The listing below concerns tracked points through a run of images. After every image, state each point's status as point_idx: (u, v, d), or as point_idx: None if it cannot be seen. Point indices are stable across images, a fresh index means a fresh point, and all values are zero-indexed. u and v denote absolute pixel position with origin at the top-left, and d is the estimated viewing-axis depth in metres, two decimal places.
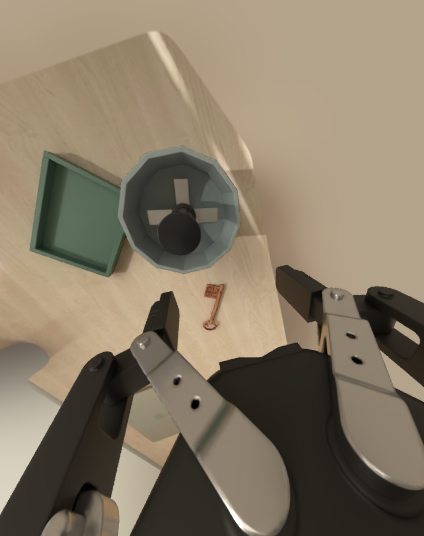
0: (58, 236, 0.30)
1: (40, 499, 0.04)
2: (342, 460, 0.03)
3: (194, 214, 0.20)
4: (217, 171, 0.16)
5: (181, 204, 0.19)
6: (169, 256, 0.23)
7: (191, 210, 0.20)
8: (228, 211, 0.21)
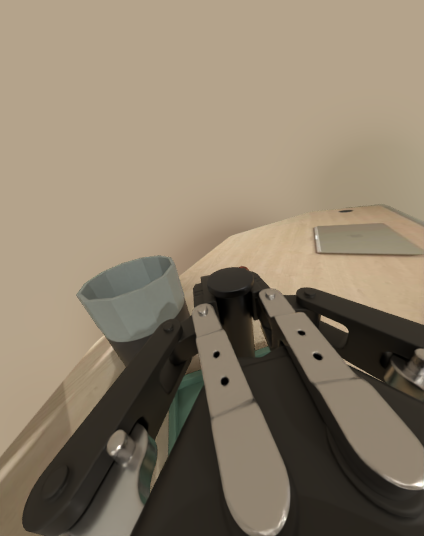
0: None
1: (115, 411, 0.05)
2: (342, 460, 0.03)
3: None
4: (92, 282, 0.24)
5: None
6: None
7: None
8: (126, 283, 0.29)
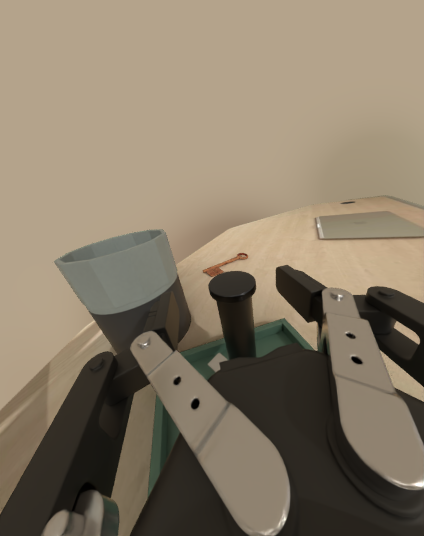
0: None
1: (40, 499, 0.04)
2: (342, 460, 0.03)
3: None
4: (75, 253, 0.22)
5: None
6: None
7: None
8: None
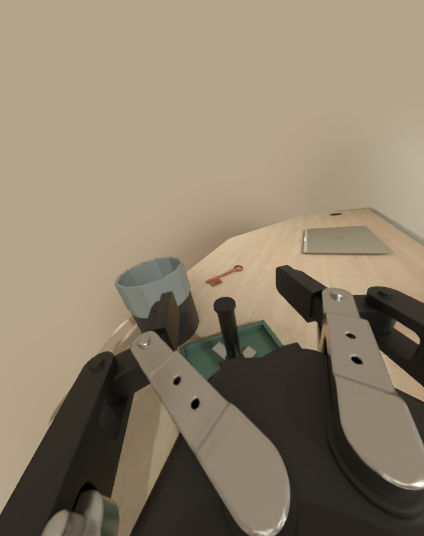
0: None
1: (40, 499, 0.04)
2: (342, 460, 0.03)
3: (227, 354, 0.25)
4: (122, 276, 0.32)
5: None
6: None
7: (226, 358, 0.25)
8: (144, 278, 0.37)
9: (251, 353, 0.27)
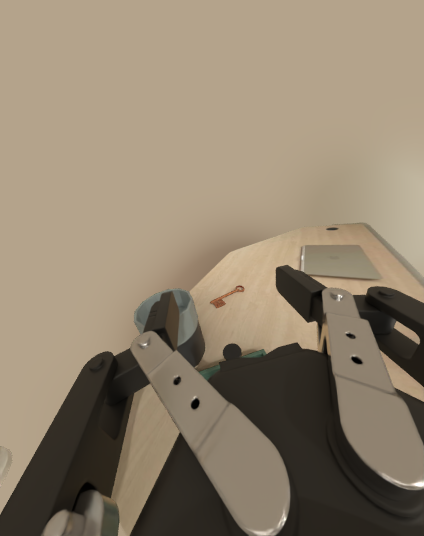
0: None
1: (40, 499, 0.04)
2: (342, 460, 0.03)
3: None
4: (138, 310, 0.36)
5: None
6: None
7: None
8: None
9: None
